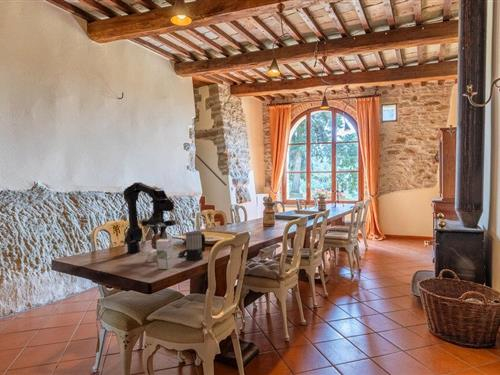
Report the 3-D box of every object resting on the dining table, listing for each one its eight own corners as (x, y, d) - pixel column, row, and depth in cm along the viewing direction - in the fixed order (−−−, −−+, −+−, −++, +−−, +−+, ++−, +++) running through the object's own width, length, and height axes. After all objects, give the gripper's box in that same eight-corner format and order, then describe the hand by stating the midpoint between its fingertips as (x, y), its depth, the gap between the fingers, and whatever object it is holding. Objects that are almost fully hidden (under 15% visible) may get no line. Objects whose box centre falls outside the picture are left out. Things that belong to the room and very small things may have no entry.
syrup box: (172, 266, 178) (171, 238, 178) (167, 269, 172) (166, 240, 172) (162, 266, 179) (161, 238, 179) (157, 269, 173) (155, 240, 173)
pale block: (147, 262, 190) (147, 255, 190) (154, 254, 210) (154, 247, 210) (166, 261, 191) (166, 254, 191) (171, 253, 211) (170, 247, 211)
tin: (155, 251, 193) (155, 236, 192) (150, 250, 193) (150, 236, 193) (167, 244, 207) (167, 230, 207) (162, 244, 208) (162, 230, 207)
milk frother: (199, 261, 188) (199, 234, 187) (172, 261, 190) (171, 234, 190) (207, 255, 202) (206, 229, 201) (181, 255, 205) (180, 229, 204)
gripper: (135, 212, 194) (137, 240, 194) (167, 212, 189) (167, 240, 190) (146, 210, 204) (147, 236, 205) (175, 210, 200) (176, 237, 201)
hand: (159, 237), depth 200 cm, fingers closed on tin, 3 cm apart
